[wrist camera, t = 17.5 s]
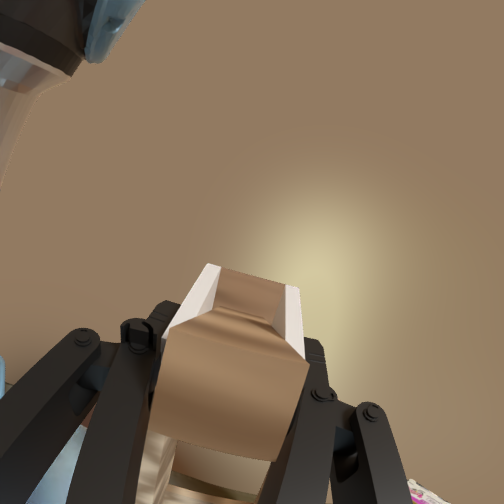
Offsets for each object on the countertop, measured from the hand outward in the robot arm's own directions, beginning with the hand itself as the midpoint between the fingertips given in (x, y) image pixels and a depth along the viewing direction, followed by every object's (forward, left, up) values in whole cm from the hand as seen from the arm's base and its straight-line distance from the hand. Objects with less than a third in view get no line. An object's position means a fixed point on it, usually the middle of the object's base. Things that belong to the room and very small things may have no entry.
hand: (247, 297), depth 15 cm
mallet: (0, +3, -4) cm, 5 cm away
